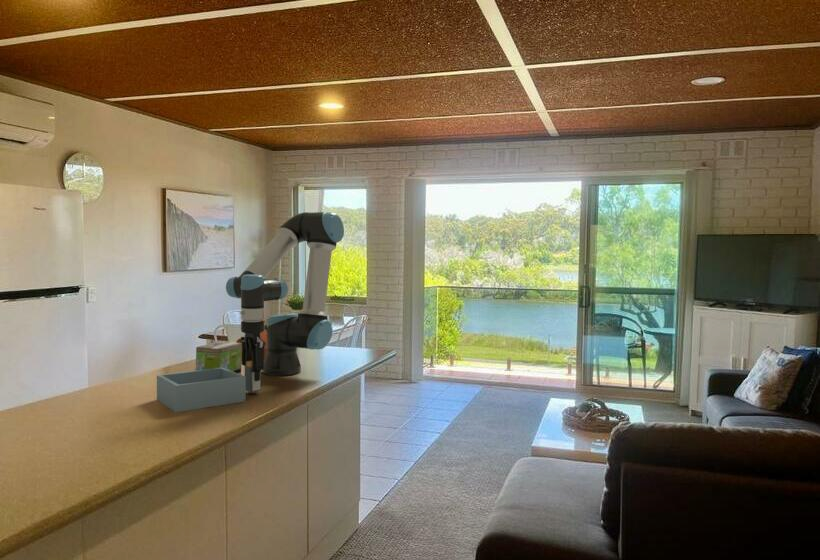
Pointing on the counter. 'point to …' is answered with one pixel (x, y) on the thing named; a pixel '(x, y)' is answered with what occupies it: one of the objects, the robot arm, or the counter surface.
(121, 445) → the counter surface
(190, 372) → the walled box
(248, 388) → the block
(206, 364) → the tea box
